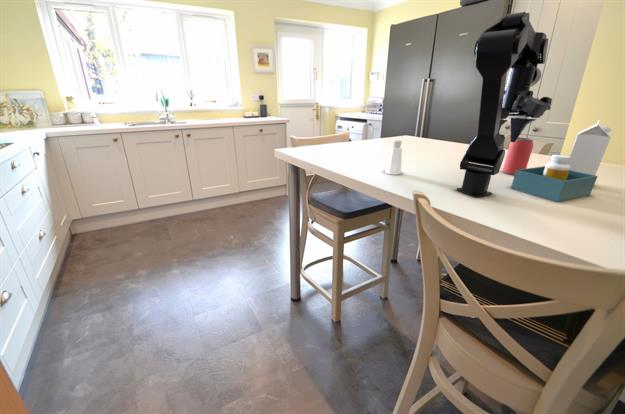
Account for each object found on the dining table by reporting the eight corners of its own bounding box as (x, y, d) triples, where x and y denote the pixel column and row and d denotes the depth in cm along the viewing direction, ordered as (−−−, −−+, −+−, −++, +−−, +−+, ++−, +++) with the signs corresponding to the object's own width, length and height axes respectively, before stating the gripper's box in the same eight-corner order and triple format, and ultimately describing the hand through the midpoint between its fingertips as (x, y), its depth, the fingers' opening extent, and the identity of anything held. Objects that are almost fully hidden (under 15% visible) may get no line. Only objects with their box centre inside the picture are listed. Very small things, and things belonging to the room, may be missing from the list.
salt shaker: (398, 170, 100) (402, 139, 95) (403, 174, 95) (408, 141, 90) (383, 170, 99) (386, 138, 95) (387, 174, 94) (391, 141, 90)
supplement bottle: (566, 193, 78) (579, 158, 74) (544, 192, 79) (556, 157, 75) (554, 187, 83) (566, 154, 79) (534, 186, 84) (545, 153, 80)
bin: (557, 202, 73) (564, 181, 71) (510, 188, 83) (516, 169, 81) (589, 195, 79) (597, 176, 77) (542, 182, 89) (548, 165, 87)
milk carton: (559, 183, 89) (582, 120, 82) (561, 178, 94) (583, 119, 86) (590, 188, 84) (617, 122, 77) (590, 183, 89) (615, 120, 82)
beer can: (524, 177, 95) (536, 140, 90) (501, 173, 98) (511, 138, 94) (523, 172, 100) (534, 138, 96) (501, 170, 103) (511, 136, 99)
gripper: (526, 85, 69) (508, 149, 75) (570, 87, 76) (551, 145, 82) (484, 85, 78) (472, 142, 84) (527, 87, 85) (512, 139, 91)
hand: (502, 142), depth 85 cm, fingers open, 9 cm apart
